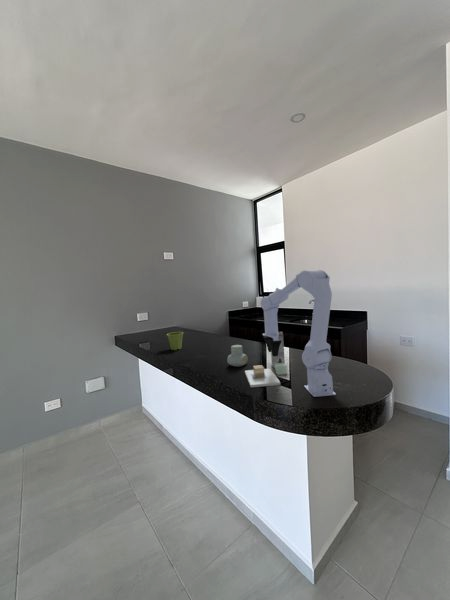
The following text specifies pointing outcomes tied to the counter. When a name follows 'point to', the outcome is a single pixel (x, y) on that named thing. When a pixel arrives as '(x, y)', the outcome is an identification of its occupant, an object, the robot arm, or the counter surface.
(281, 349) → the coffee box
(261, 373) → the maple block
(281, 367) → the sage block
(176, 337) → the plant pot
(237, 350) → the air freshener
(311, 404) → the counter surface
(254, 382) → the plate
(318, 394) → the robot arm
